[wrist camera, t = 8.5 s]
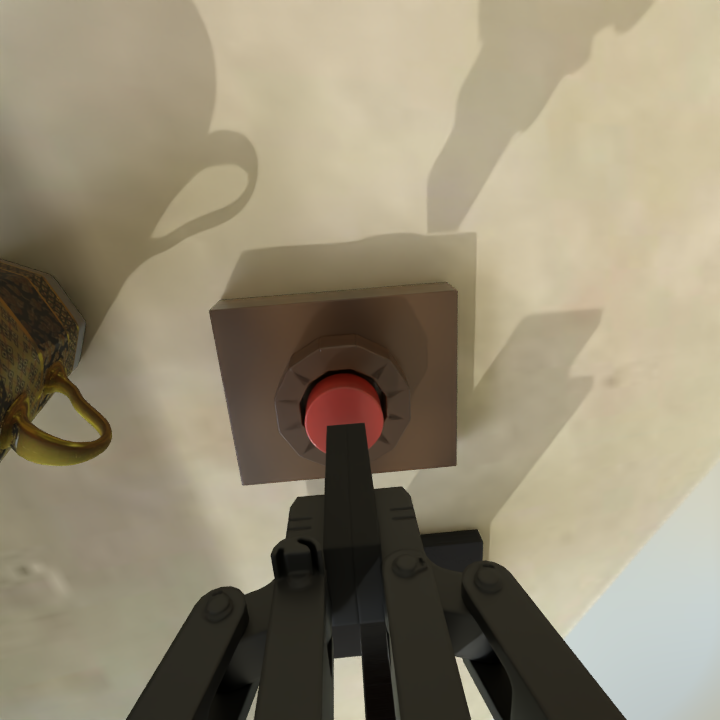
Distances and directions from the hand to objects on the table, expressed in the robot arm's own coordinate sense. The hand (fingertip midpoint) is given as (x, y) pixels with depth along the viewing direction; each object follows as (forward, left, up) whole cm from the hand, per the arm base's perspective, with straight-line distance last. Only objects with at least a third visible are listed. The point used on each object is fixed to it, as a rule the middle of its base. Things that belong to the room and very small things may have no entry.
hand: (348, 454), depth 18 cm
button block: (0, 0, -8) cm, 8 cm away
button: (0, 0, -4) cm, 4 cm away
